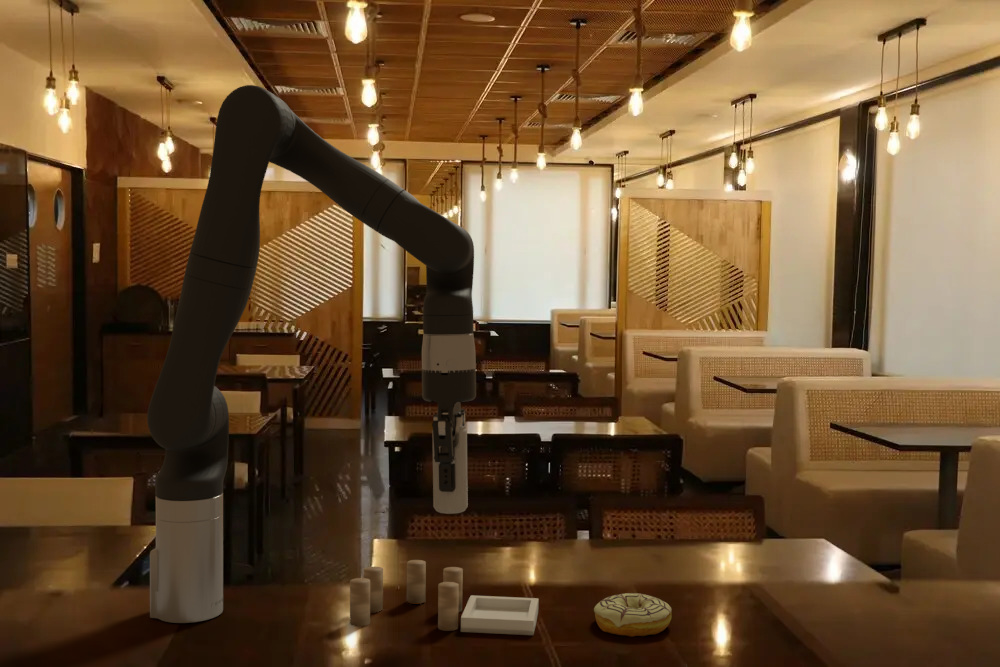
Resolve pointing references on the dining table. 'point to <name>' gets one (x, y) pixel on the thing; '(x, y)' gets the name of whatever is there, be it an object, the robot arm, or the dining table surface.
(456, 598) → the posts
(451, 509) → the beverage can
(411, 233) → the robot arm
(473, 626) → the parts tray
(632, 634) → the decorated donut
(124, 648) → the dining table surface
